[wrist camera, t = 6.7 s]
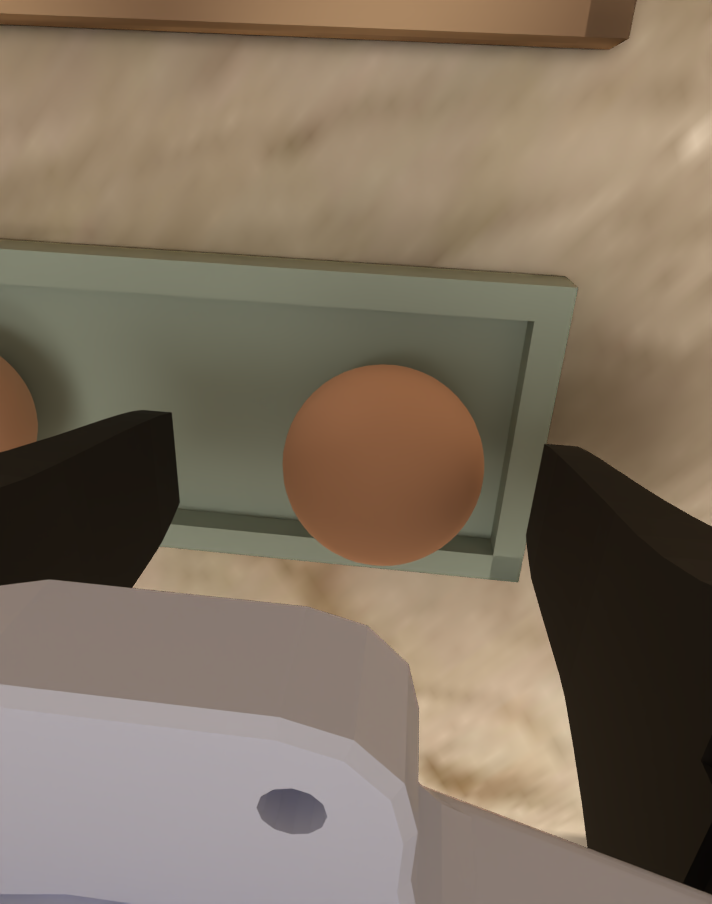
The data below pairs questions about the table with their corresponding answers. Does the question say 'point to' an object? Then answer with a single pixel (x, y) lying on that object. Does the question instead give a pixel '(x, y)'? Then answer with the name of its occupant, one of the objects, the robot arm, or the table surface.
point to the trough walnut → (351, 19)
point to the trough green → (284, 373)
